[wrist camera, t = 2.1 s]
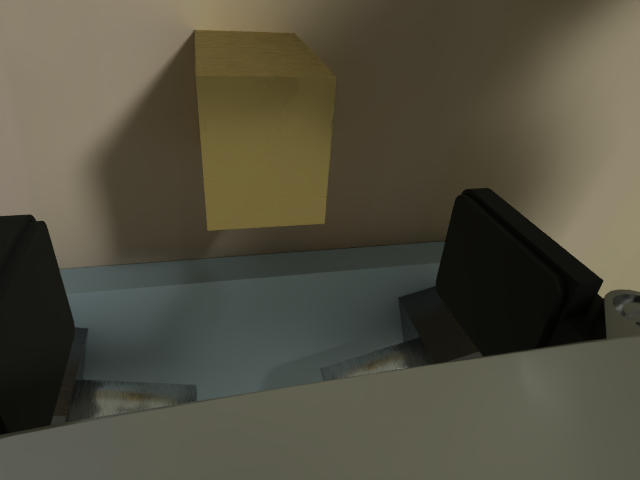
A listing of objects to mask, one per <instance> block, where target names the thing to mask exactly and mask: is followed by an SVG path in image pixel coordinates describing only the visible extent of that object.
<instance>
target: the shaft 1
mask: <svg viewBox="0 0 640 480" xmlns="http://www.w3.org/2000/svg"><path fill="white" fill-rule="evenodd" d="M87 337H88V328H78V327H75V335H74V340H73V344H72V347H71V351H70V355H69V359H68V362H67V366H66V370H65V373H64V377H63V381H62V385H61V388H60V392H59V396H58V400H57V403H56V407H55V411H54V414H53V418H52V422H51V425H56V424H61V423H66V422H71V421H77V420H82V419H88V418H94V417H100V416H107V415H113V414H119V413H125V412H132V411H138V410H144V409H150V408H157V407H163V406H169V405H175V404H182V403H188V402H194V401H197V387H196V385H194V384H171V383H147V382H124V381H100V380H83V372H84V363H85V354H86V346H87Z"/></svg>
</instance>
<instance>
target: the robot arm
mask: <svg viewBox="0 0 640 480" xmlns="http://www.w3.org/2000/svg"><path fill="white" fill-rule="evenodd" d="M602 283H603V280H602V279H601V278H600V277H598V276H597V275H596V274H595V273H593V272H592V271H591V270H590V269H589V268H587V267H586V266H585V265H584V264H582V263H581V262H580V261H579V260H577V259H576V258H575V257H574V256H572V255H571V254H570V253H569V252H567V251H566V250H565V249H564V248H563V247H561V246H560V245H559V244H558V243H556V242H555V241H554V240H553V239H551V238H550V237H549V236H548V235H546V234H545V233H544V232H543V231H541V230H540V229H539V228H538V227H537V226H535V225H534V224H533V223H532V222H530V221H529V220H528V219H527V218H525V217H524V216H523V215H522V214H520V213H519V212H518V211H517V210H515V209H514V208H513V207H512V206H511V205H509V204H508V203H507V202H506V201H504V200H503V199H502V198H501V197H499V196H498V195H497V194H496V193H494V192H493V191H492V190H491V189H489V188H479V189H466V190H464V191H463V192H462V194H461V195H459V196H457V198H456V200H455V203H454V207H453V211H452V215H451V219H450V224H449V228H448V232H447V236H446V240H445V244H444V249H443V253H442V257H441V261H440V265H439V269H438V274H437V278H436V291H437V293H438V295H439V297H440V298H441V299H442V301H443V302H444V304H445V305H446V306H447V308H448V309H449V310H450V312H451V313H452V315H453V316H454V317H455V319H456V320H457V322H458V323H459V324H460V326H461V327H462V328H463V330H464V331H465V333H466V334H467V335H468V337H469V338H470V340H471V341H472V342H473V344H474V345H475V346H476V348H477V349H478V351H479V352H480V353H481V355H482V356H483V357H476V358H470V359H463V360H456V361H450V362H443V363H437V364H430V365H424V366H417V367H411V368H404V369H398V370H391V371H385V372H378V373H372V374H365V375H359V376H352V377H346V378H340V379H333V380H327V381H320V382H314V383H308V384H301V385H295V386H288V387H282V388H276V389H269V390H263V391H257V392H250V393H244V394H238V395H232V396H225V397H219V398H213V399H207V400H200V401H194V402H188V403H182V404H175V405H169V406H163V407H157V408H150V409H144V410H138V411H132V412H125V413H119V414H113V415H107V416H100V417H94V418H88V419H82V420H77V421H71V422H66V423H61V424H56V425H51V422H52V418H53V414H54V411H55V407H56V403H57V400H58V396H59V392H60V388H61V385H62V381H63V377H64V373H65V370H66V366H67V362H68V359H69V355H70V351H71V347H72V344H73V340H74V335H75V325H74V319H73V316H72V312H71V309H70V305H69V302H68V298H67V295H66V291H65V288H64V284H63V281H62V277H61V274H60V270H59V267H58V263H57V260H56V256H55V253H54V249H53V246H52V242H51V239H50V235H49V232H48V228H47V225H46V224H45V222H44V221H36V220H35V218H34V217H33V216H32V215H14V216H0V480H640V292H637V291H632V290H620V289H619V290H614V291H610V292H609V293H607V294H606V295H605V297H604V299H603V298H602V297H601V296H599V295H598V294H597V293H598V291H599V289H600V287H601V285H602Z"/></svg>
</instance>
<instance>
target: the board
mask: <svg viewBox="0 0 640 480" xmlns="http://www.w3.org/2000/svg"><path fill="white" fill-rule="evenodd" d="M444 244H445V241H442V242H428V243H414V244H400V245H387V246H373V247H359V248H346V249H332V250H318V251H304V252H291V253H277V254H263V255H250V256H236V257H222V258H208V259H195V260H181V261H167V262H154V263H140V264H126V265H112V266H99V267H85V268H71V269H59V270H60V274H61V277H62V281H63V284H64V288H65V291H66V295H67V298H68V302H69V305H70V309H71V312H72V316H73V319H74V325H75V327H78V328H88V337H87V346H86V354H85V363H84V372H83V380H100V381H124V382H147V383H171V384H194V385H196V387H197V401H200V400H207V399H213V398H219V397H225V396H232V395H238V394H244V393H250V392H257V391H263V390H269V389H276V388H282V387H288V386H295V385H301V384H308V383H314V382H320V381H323V378H322V374H321V371H320V368H322V367H326V366H329V365H332V364H335V363H338V362H342V361H345V360H348V359H351V358H354V357H357V356H361V355H364V354H367V353H370V352H373V351H377V350H380V349H383V348H386V347H389V346H392V345H396V344H399V343H402V342H404V340H403V332H402V324H401V316H400V308H399V300H398V297H401V296H405V295H408V294H411V293H414V292H418V291H421V290H424V289H427V288H431V287H434V286H436V278H437V274H438V269H439V265H440V261H441V257H442V253H443V249H444Z"/></svg>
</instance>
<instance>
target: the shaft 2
mask: <svg viewBox="0 0 640 480" xmlns="http://www.w3.org/2000/svg"><path fill="white" fill-rule="evenodd" d="M398 300H399V308H400V316H401V324H402V332H403V340H404V342H402V343H399V344H396V345H392V346H389V347H386V348H383V349H380V350H377V351H373V352H370V353H367V354H364V355H361V356H357V357H354V358H351V359H348V360H345V361H342V362H338V363H335V364H332V365H329V366H326V367H322V368H320V371H321V374H322V378H323V381H327V380H333V379H340V378H346V377H352V376H359V375H365V374H372V373H378V372H385V371H391V370H398V369H404V368H411V367H417V366H424V365H430V364H437V363H443V362H450V361H456V360H463V359H470V358H476V357H483V356H482V355H481V353H480V352H479V351H478V349H477V348H476V346H475V345H474V344H473V342H472V341H471V340H470V338H469V337H468V335H467V334H466V333H465V331H464V330H463V328H462V327H461V326H460V324H459V323H458V322H457V320H456V319H455V317H454V316H453V315H452V313H451V312H450V310H449V309H448V308H447V306H446V305H445V304H444V302H443V301H442V299H441V298H440V297H439V295H438V293H437V291H436V286H434V287H431V288H427V289H424V290H421V291H418V292H414V293H411V294H408V295H405V296H401V297H398Z"/></svg>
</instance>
